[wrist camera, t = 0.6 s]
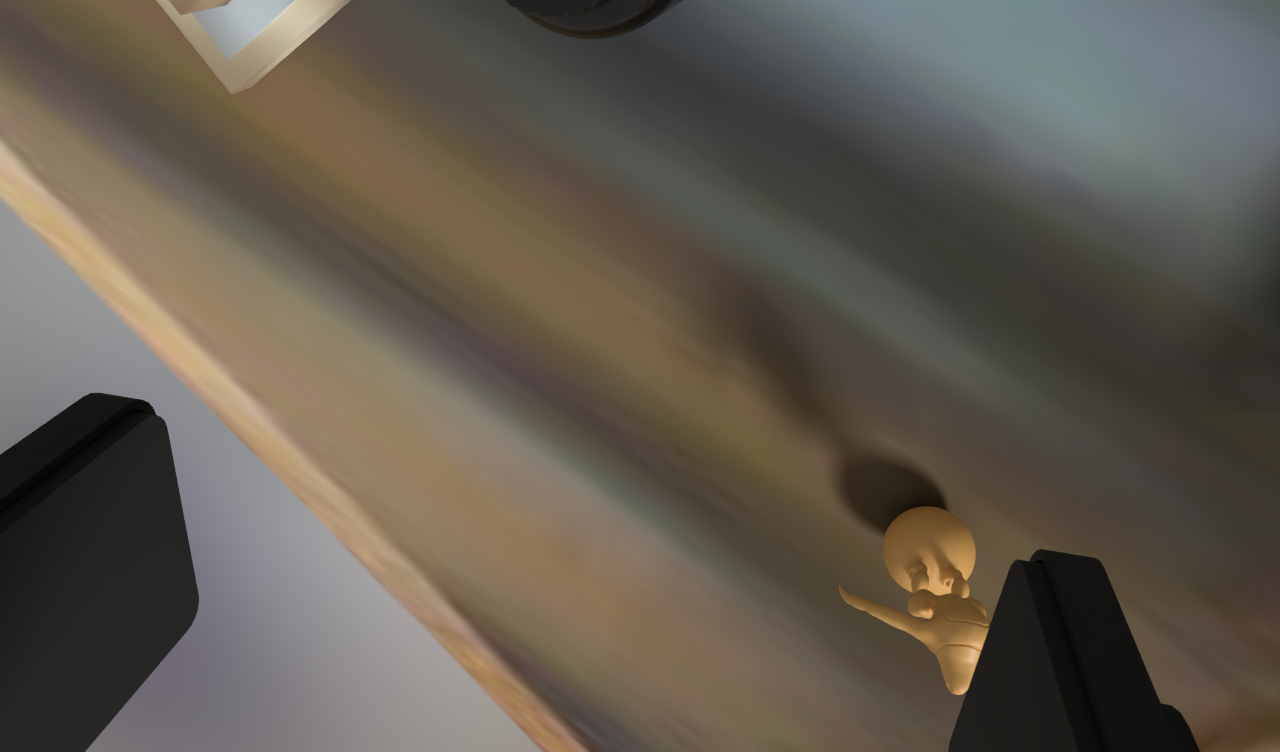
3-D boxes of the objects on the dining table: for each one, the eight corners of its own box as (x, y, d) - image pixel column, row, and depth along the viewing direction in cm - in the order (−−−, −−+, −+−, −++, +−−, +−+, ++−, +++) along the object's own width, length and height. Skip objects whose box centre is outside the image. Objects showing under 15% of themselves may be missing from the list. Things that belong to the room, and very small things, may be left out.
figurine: (829, 542, 45) (821, 741, 35) (850, 437, 42) (849, 621, 32) (1006, 573, 44) (1053, 788, 34) (1041, 467, 41) (1104, 668, 31)
